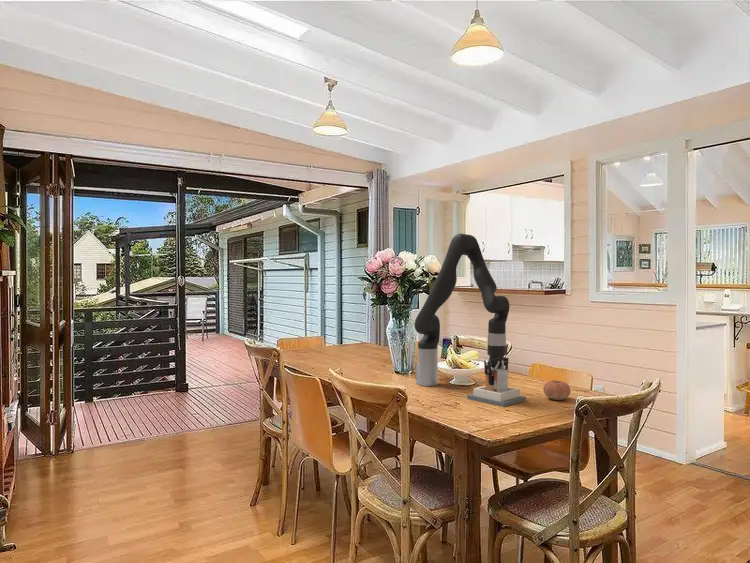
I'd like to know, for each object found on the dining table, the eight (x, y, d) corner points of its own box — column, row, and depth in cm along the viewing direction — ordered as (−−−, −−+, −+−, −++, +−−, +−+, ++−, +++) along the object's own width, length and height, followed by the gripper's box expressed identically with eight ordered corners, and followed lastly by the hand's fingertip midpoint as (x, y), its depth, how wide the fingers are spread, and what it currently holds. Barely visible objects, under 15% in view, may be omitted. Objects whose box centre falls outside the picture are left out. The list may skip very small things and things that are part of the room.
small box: (484, 392, 220) (485, 367, 220) (495, 391, 222) (495, 366, 222) (497, 396, 213) (497, 370, 213) (508, 395, 215) (508, 369, 215)
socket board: (467, 398, 219) (467, 387, 219) (490, 392, 230) (490, 382, 229) (503, 406, 205) (503, 395, 205) (526, 400, 216) (526, 389, 216)
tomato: (548, 402, 213) (548, 382, 213) (539, 396, 224) (540, 377, 224) (574, 402, 213) (574, 383, 213) (565, 396, 224) (565, 377, 224)
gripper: (499, 341, 225) (499, 380, 225) (478, 344, 215) (478, 384, 216) (514, 343, 219) (514, 383, 219) (493, 346, 210) (493, 387, 210)
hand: (496, 383), depth 218 cm, fingers closed on small box, 6 cm apart
